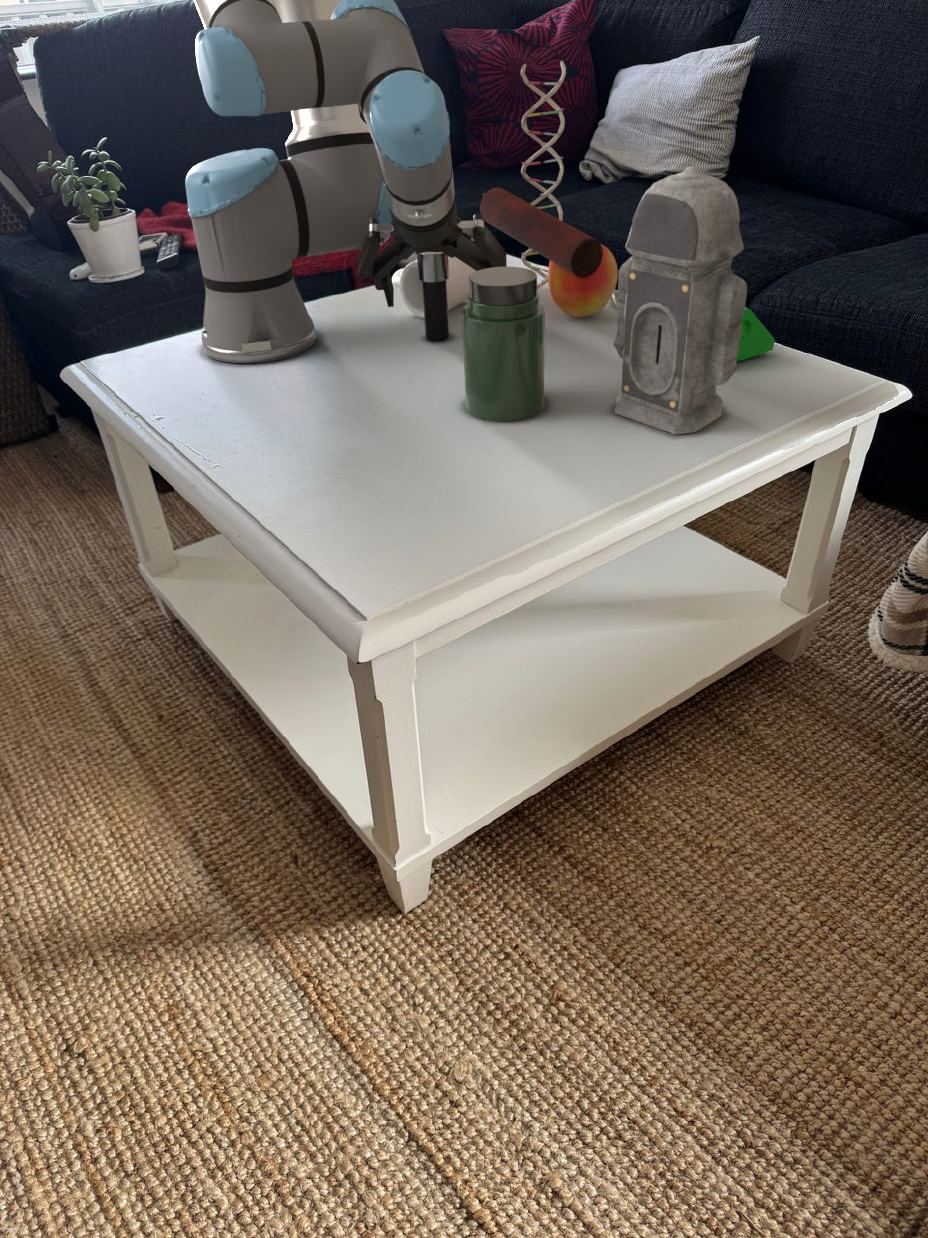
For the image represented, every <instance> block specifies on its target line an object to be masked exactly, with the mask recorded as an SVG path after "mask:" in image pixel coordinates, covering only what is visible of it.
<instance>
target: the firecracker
mask: <svg viewBox="0 0 928 1238" xmlns="http://www.w3.org/2000/svg"><path fill="white" fill-rule="evenodd" d="M537 207H538V206H537ZM537 207H536V205H534V206H533V205H531V203H529V202H527V201H526V200H524V199H522V198H520V197H518V196H516V195H515V194H513V193H511V192H509V191H508V190H505V189H503V188H501V187H493V188H491V189H489V190H488V191H486V193H485V192H483V193H482V198H481V201H480V206H479V212H480V214H482V215H483V216H484V222H486V223H488V224H489V225H491V226H493V227H494V228H496V229H498V230H499V231H501V232H503V233H504V234H506V235H508V236H509V237H510V238H513V239H514V240H516V241H518V242H519V243H521V244H522V245H524V246H526V247H527V248H528V249H530V248H531V249H532V250H534V251H533V252H537V253H539V254H538V255H541V256H542V257H543V258H546V259H547V260H549V262H550V261H552V262H554V263H555V264H557V265H559V266H560V267H562V268H564V269H565V270H567V271H569V272H570V273H572V274H574V275H575V276H577V277H580V278H586V277H588V276H591V275H592V274H593V273H594V272H596V270H597V269H598V267H599V266H600V264H601V261H602V257H603V248H602V246H601V244H602V243H601V242H600V241H599V240H598V239H596V238H594V237H592V236H590V235H589V234H586V233H585V232H583V231H580V230H579V229H577V228H576V227H573V226H571V224H568V223H566V222H564V221H563V220H562V221H561V220H559V218H558V217H555V216H553V215H552V214H550V213H548V212H546V211H544V210H542V209H540V208H539V209H538V208H537Z"/></svg>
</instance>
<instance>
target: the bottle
mask: <svg viewBox="0 0 928 1238" xmlns="http://www.w3.org/2000/svg"><path fill="white" fill-rule="evenodd" d="M537 285H538V273H537V272H535V271H533V270H532V269H530V268H525V267H519V266H507V267H493V268H487V269H482V270H479V271H476V272H474V273H472V274H471V275H470V276H469V289H470V294H469V295H468V300H467V304H466V305H464V307H463V308H462V310H461V321H462V322H461V323H462V345H463V346H462V347H463V368H464V369H463V370H464V390H465V394H464V395H465V408H466V411H467V412H468V413H469V414H470V415H471V416H473V417H476V418H478V419H480V420H484V421H492V422H513V421H514V422H515V421H520V420H525V419H528V418H529V419H530V418H531V417H534V416H536V415H538V414H539V413H541V411H542V410H543V409H544V407H545V365H546V364H545V363H546V362H545V359H546V357H545V356H546V355H545V354H546V349H545V348H546V307H545V305H544V303H542V302H540V295H539V292H538V289H537Z"/></svg>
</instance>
